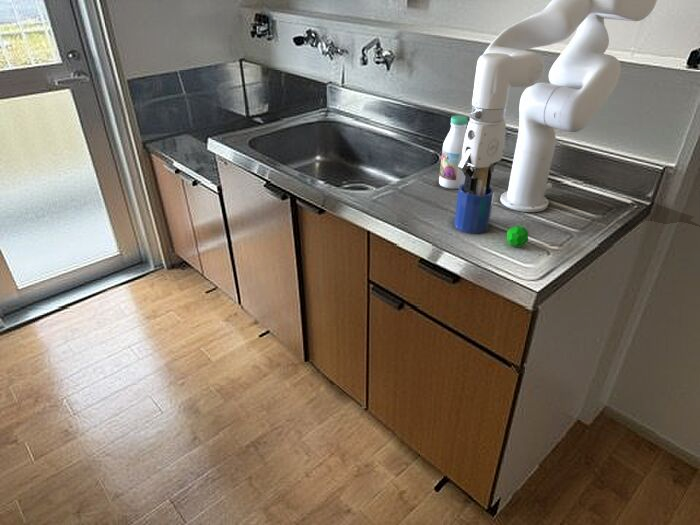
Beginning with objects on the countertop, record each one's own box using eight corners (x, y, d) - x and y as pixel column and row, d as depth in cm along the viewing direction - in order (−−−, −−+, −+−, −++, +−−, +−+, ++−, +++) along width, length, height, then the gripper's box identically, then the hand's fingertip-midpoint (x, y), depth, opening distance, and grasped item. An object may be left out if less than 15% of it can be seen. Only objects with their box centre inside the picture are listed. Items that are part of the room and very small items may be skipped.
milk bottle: (456, 177, 151) (464, 112, 141) (469, 187, 145) (479, 119, 135) (434, 181, 149) (440, 114, 138) (447, 191, 143) (454, 122, 132)
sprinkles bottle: (486, 209, 122) (495, 157, 114) (473, 214, 120) (481, 161, 112) (473, 203, 125) (480, 152, 118) (460, 207, 123) (467, 155, 116)
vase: (469, 215, 130) (474, 179, 124) (494, 227, 124) (501, 190, 119) (447, 224, 125) (451, 187, 120) (472, 237, 120) (478, 199, 114)
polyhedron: (522, 240, 118) (526, 222, 116) (529, 250, 114) (533, 232, 112) (502, 240, 118) (505, 222, 116) (508, 250, 114) (511, 232, 112)
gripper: (476, 124, 103) (465, 203, 113) (524, 111, 112) (510, 186, 121) (449, 116, 108) (440, 193, 118) (497, 104, 117) (486, 176, 126)
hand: (476, 188), depth 119 cm, fingers closed on sprinkles bottle, 4 cm apart
